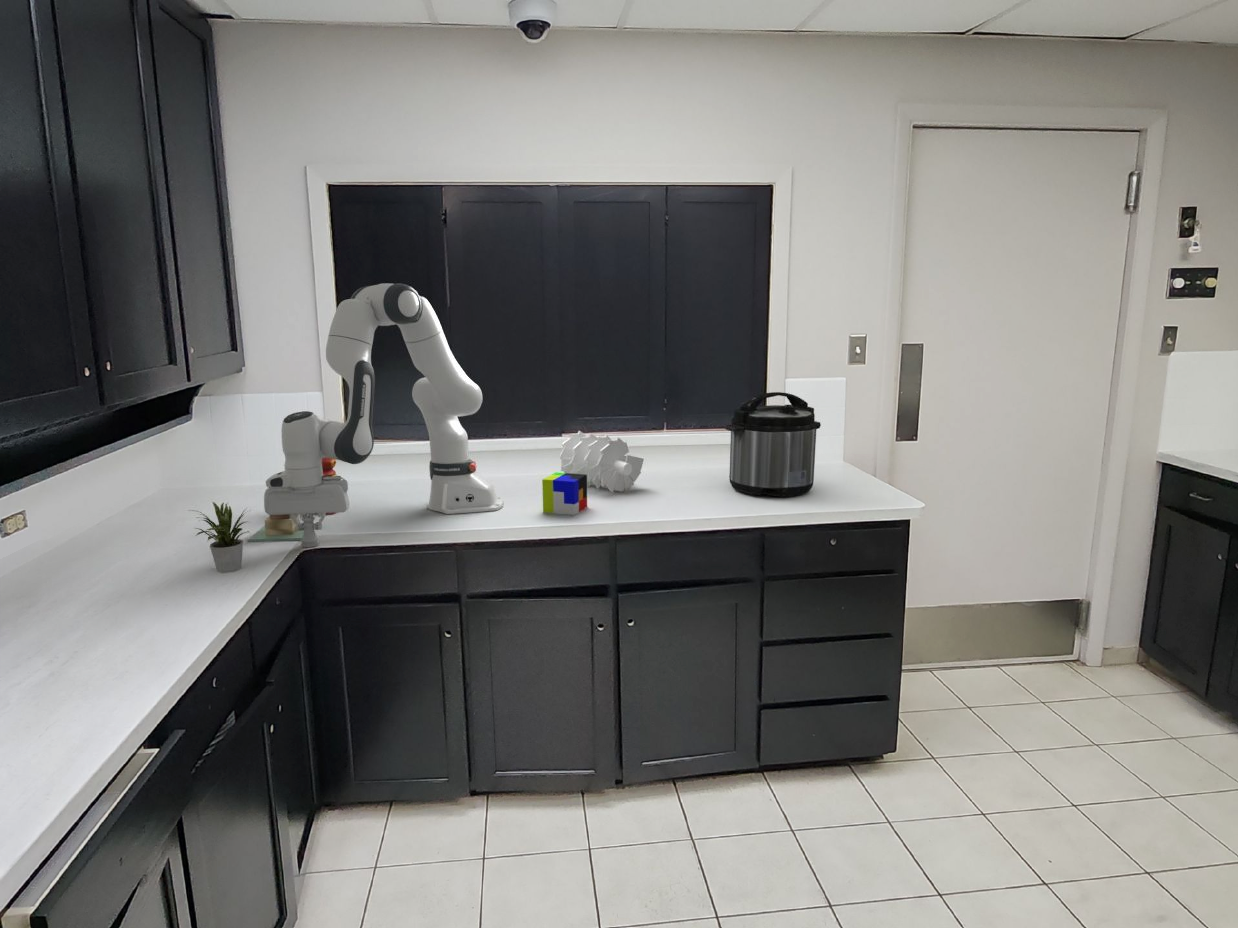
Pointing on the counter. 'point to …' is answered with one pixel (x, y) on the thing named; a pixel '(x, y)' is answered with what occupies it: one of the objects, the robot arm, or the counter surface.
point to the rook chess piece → (309, 532)
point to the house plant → (225, 540)
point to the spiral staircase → (600, 461)
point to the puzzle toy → (564, 493)
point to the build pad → (275, 536)
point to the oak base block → (280, 526)
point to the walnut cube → (280, 516)
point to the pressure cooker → (773, 447)
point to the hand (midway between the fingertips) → (309, 529)
